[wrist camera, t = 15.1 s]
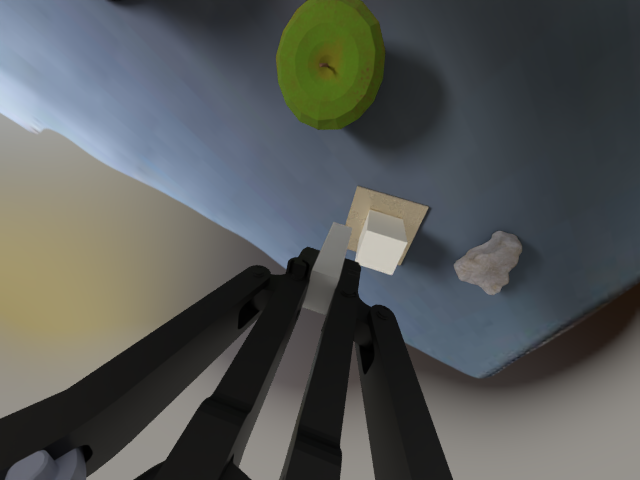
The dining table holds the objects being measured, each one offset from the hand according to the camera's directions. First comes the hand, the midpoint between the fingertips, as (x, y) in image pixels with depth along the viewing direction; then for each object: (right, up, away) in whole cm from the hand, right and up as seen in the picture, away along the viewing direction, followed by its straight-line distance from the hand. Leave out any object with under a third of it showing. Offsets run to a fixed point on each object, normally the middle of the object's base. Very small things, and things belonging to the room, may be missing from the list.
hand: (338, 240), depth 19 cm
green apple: (+1, +23, +16) cm, 28 cm away
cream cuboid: (+9, +2, +24) cm, 25 cm away
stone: (+27, -2, +23) cm, 35 cm away
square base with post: (+9, +2, +25) cm, 26 cm away
